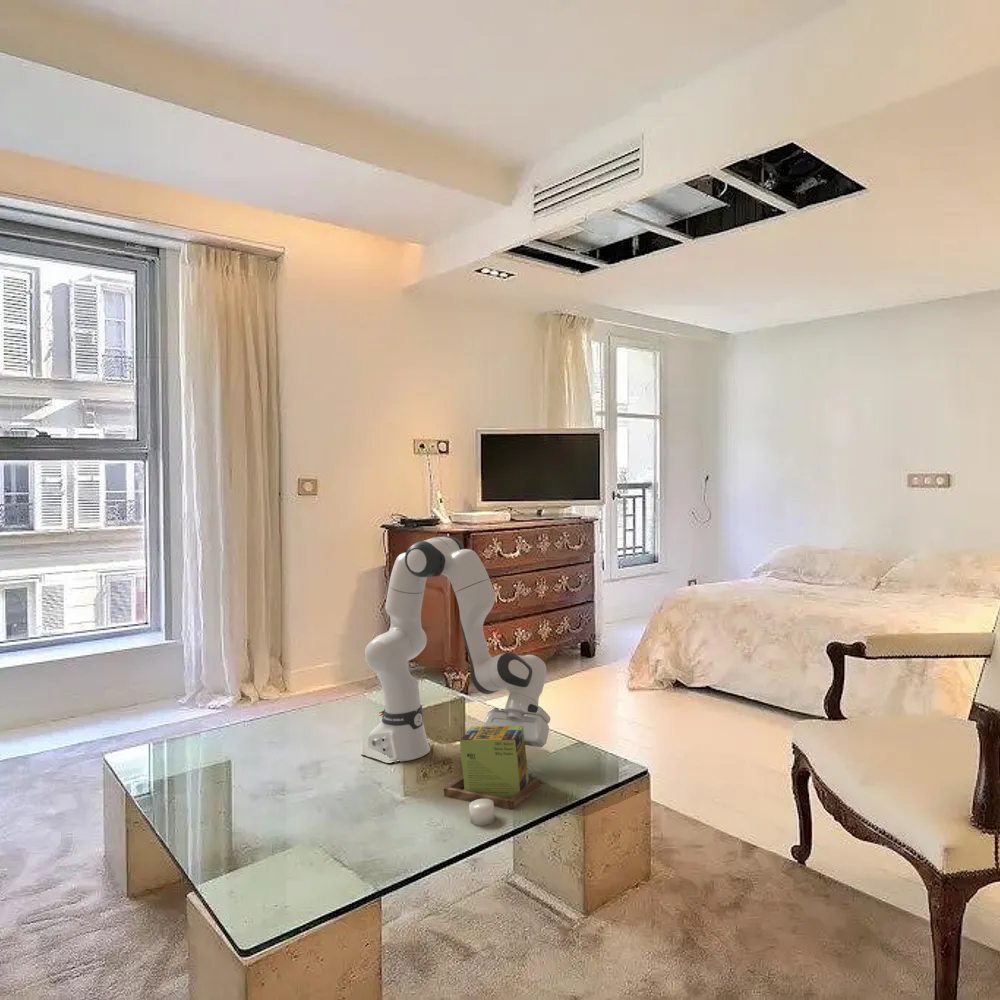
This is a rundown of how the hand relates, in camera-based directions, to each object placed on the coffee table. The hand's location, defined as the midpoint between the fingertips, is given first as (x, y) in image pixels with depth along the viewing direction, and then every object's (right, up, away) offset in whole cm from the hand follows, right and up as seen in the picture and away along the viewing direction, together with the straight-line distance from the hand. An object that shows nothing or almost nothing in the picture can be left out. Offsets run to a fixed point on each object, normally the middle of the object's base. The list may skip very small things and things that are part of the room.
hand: (505, 757), depth 202 cm
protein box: (-2, -7, -5) cm, 9 cm away
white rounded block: (-6, -8, -22) cm, 24 cm away
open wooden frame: (-3, -7, -5) cm, 9 cm away
